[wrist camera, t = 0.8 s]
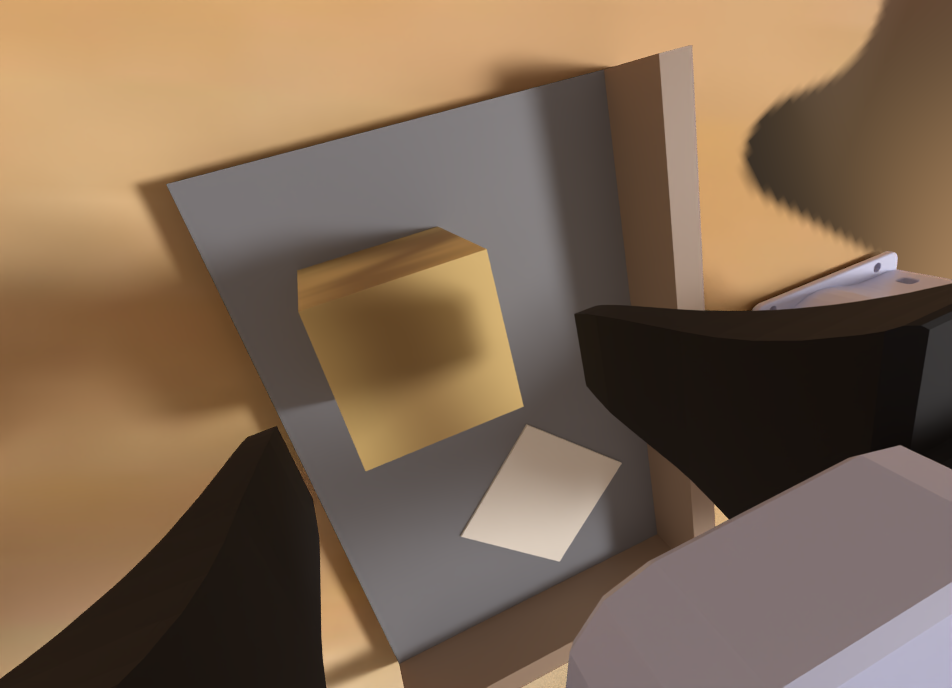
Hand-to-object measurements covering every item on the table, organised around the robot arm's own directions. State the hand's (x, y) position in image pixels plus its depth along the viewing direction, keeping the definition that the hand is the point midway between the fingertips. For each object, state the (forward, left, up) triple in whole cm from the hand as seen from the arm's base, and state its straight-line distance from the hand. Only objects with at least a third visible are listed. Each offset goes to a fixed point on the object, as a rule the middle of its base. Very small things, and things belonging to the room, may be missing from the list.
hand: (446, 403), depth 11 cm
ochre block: (0, 0, -7) cm, 7 cm away
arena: (-3, +6, -8) cm, 11 cm away
